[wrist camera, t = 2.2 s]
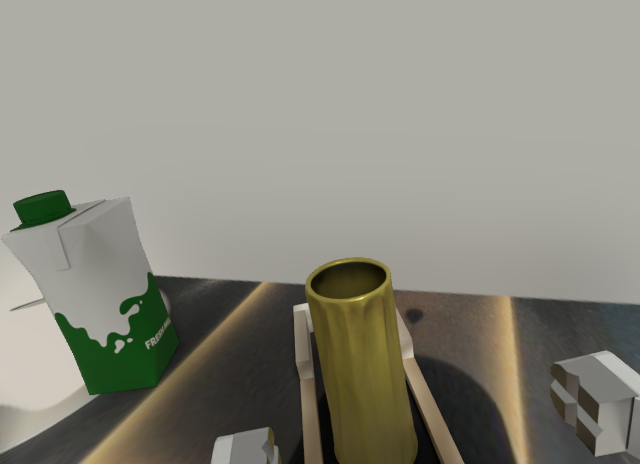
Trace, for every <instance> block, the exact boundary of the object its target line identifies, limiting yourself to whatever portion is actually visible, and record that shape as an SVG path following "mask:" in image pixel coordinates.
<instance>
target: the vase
mask: <svg viewBox="0 0 640 464" xmlns="http://www.w3.org/2000/svg"><path fill="white" fill-rule="evenodd" d="M305 293H306V298H307V302H308V306H309V310H310V315H311V320H312V325H313V330H314V334H315V338H316V343H317V347H318V353H319V358H320V364H321V371H322V376H323V382H324V387H325V391H326V396H327V400H328V405H329V410H330V414H331V423H332V430H333V438H334V453H335V456H336V458H337V460H338V462H339V464H413V463H414V461H415V458H416V455H417V450H418V440H417V436H416V433H415V430H414V425H413V418H412V414H411V408H410V403H409V398H408V393H407V388H406V381H405V373H404V366H403V359H402V353H401V346H400V338H399V330H398V323H397V315H396V307H395V301H394V295H393V288H392V281H391V273H390V270H389V268H388V267H387V266H386V265H384V264H383V263H381V262H379V261H376V260H373V259H369V258H362V257H355V258H345V259H339V260H335V261H331V262H329V263H326V264H324V265H322V266H320V267H319V268H317V269H316V270H315V271H314V272H312V274H310V275H309V277H308V278H307V280H306V287H305Z"/></svg>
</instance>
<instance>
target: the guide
mask: <svg viewBox="0 0 640 464" xmlns="http://www.w3.org/2000/svg"><path fill="white" fill-rule="evenodd" d="M293 307H294V330H295V353H296V365H297V369H298V373H299V377H300V384H301V402H302V420H303V438H304V456H305V464H323V454H322V444H321V435H320V425H319V416H318V406H317V396H316V387H315V377H314V368H313V358H312V348H311V339H310V333H311V332H314V330H313V325H312V320H311V315H310V310H309V306H308V303H306V304H301V305H296V306H293ZM395 307H396V306H395ZM396 315H397V323H398V330H399V338H400V346H401V353H402V359H403V366H404V373H405V377H406V380H407V382H408V385H409V387H410V390H411V392H412V394H413V397H414V399H415V402H416V404H417V407H418V409H419V411H420V414H421V416H422V419H423V421H424V423H425V426H426V428H427V431H428V433H429V436H430V438H431V440H432V443H433V445H434V448H435V450H436V453H437V455H438V457H439V460H440V462H441V464H464V462H463V460H462V458H461V456H460V454H459V452H458V450H457V447H456V445H455V443H454V441H453V439H452V437H451V435H450V433H449V431H448V428H447V426H446V424H445V422H444V420H443V418H442V416H441V414H440V411H439V409H438V407H437V405H436V403H435V401H434V399H433V397H432V395H431V392H430V390H429V388H428V386H427V384H426V382H425V380H424V378H423V376H422V373H421V371H420V369H419V367H418V365H417V363H416V361H415V359H414V354H413V345H412V338H411V336H410V334H409V332H408V330H407V328H406V326H405V324H404V322H403V320H402V318H401V316H400V314H399V312H398V310H397V308H396Z"/></svg>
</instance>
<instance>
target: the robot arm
mask: <svg viewBox="0 0 640 464" xmlns="http://www.w3.org/2000/svg"><path fill="white" fill-rule="evenodd" d="M551 375H552V376H553V377H554V378H555V381H554V382H553V383H552V385H551V386H550V393H551V398H552V401H553V404H554V406H555V408H556V410H557V412H558V413H559V414H560V416H561V417H562V418H563V419H564V421H566V422H568V423H570V424H572V425H574V426H576V435H577V436H578V437H579V439H580V440H581V441H582V442H583V443H584V444H585V446H586V447H587V448H588V449H589V450H590V451H591V453H592V454H593V455H594V456H595V457H596V456H601V455H606V454H611V453H616V452H621V451H626V450H628V453H630V454H631V455H633V456H635V457H637V458H638V459H640V375H639V374H637V373H636V372H635V371H634V370H632V369H631V368H630V367H629V366H627V365H626V364H625V363H624V362H622V361H621V360H620V359H619V358H617V357H616V356H615V355H614V354H612V353H611V352H608V351H602V352H598V353H594V354H589V355H585V356H580V357H576V358H572V359H568V360H564V361H559V362H555V363H553V364H552V366H551ZM211 464H282V460H281V456H280V452H279V449H278V447H277V446H275V445H274V434H273V431H272V429H271V427H266V428H261V429H256V430H251V431H246V432H240V433H235V434H232V435H227V436H222V437H218V438H217V440H216V442H215V444H214V449H213V454H212V459H211Z"/></svg>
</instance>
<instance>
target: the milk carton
mask: <svg viewBox="0 0 640 464" xmlns="http://www.w3.org/2000/svg"><path fill="white" fill-rule="evenodd" d="M13 206H14V208H15V210H16V212H17V214H18V216H19V218H20V220H21V222H22V224H21V225H19V227H17V228H15V229H13V230H11V231H10V233H7V234H5V235H3V236H2V237H1V240H2V241H3V242H4V243H5V244H6V246H7V247H8V248H9V249H10V250H11V251H12V253H13V254H14V255H15V256H16V257H17V258H18V260H19V261H20V262H21V263H22V264H23V265H24V267H25V268H26V269H27V270H28V272H29V273H30V274H31V275H32V277H33V278H34V280H35V281H36V283H37V285H38V287H39V289H40V291H41V293H42V295H43V297H44V299H45V300H46V302H47V304H48V306H49V308H50V310H51V312H52V314H53V316H54V318H55V320H56V322H57V324H58V325H59V327H60V329H61V331H62V333H63V335H64V337H65V339H66V341H67V343H68V345H69V347H70V349H71V351H72V353H73V355H74V357H75V360H76V362H77V365H78V367H79V370H80V372H81V374H82V377H83V380H84V382H85V385H86V387H87V389H88V392H89V394H90V395H94V394H102V393H110V392H118V391H126V390H134V389H141V388H149V387H156V385H157V383H158V382H159V380H160V378H161V376H162V374H163V372H164V371H165V369H166V367H167V365H168V363H169V362H170V360H171V358H172V356H173V354H174V352H175V351H176V349H177V347H178V345H179V343H180V341H179V338H178V336H177V334H176V331H175V329H174V327H173V324H172V322H171V319H170V317H169V315H168V312H167V310H166V307H165V304H164V302H163V299H162V297H161V294H160V291H159V289H158V286H157V284H156V281H155V278H154V276H153V273H152V271H151V268H150V265H149V263H148V260H147V258H146V255H145V252H144V250H143V247H142V244H141V242H140V238H139V235H138V231H137V227H136V223H135V219H134V215H133V211H132V206H131V202H130V198H129V197H125V198H119V199H114V200H108V201H106V200H98V201H94V202H90V203H84V204H79V205H73V206H71V205H70V203H69V201H68V198H67V196H66V194H65V192H64V191H63V190H57V191H50V192H46V193H42V194H38V195H34V196H31V197H27V198H25V199H22V200H19V201H17V202H15V203H14V204H13Z"/></svg>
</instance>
